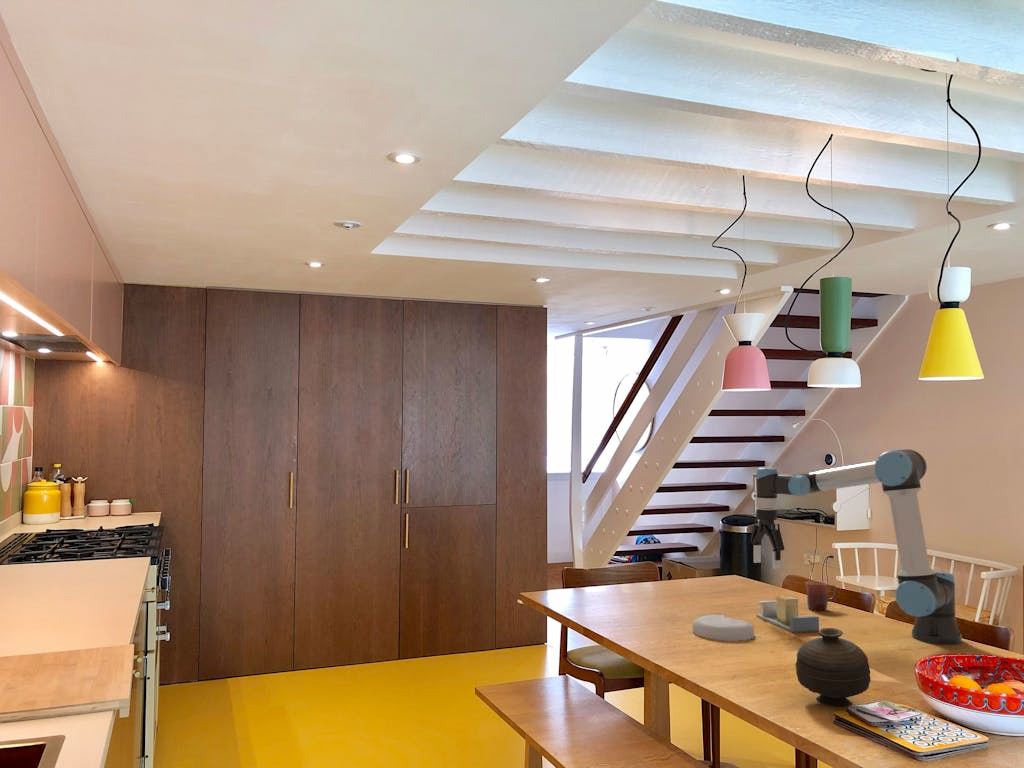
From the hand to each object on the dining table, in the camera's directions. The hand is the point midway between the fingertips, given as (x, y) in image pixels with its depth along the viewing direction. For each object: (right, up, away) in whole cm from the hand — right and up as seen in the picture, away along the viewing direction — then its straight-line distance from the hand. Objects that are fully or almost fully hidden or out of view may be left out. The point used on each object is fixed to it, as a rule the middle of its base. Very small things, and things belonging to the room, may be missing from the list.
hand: (766, 565), depth 312 cm
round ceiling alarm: (-24, -19, -28) cm, 41 cm away
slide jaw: (+1, -18, -2) cm, 18 cm away
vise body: (+3, -19, -13) cm, 23 cm away
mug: (+26, -21, +15) cm, 36 cm away
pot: (-14, -15, -100) cm, 102 cm away
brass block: (+3, -18, -14) cm, 22 cm away
